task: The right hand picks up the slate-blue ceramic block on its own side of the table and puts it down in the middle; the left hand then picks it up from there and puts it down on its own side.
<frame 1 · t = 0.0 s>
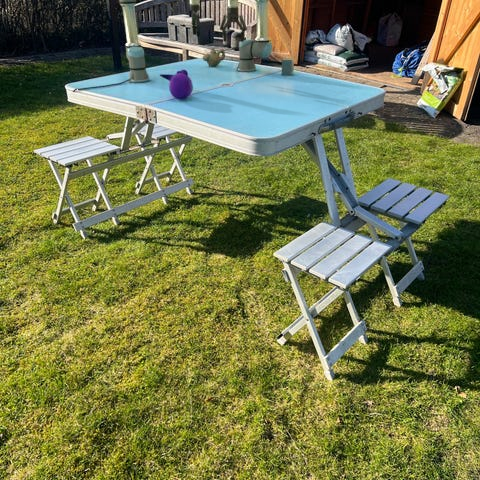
left hand: (196, 35, 349), 28 cm above the table, tool pointing down, fingers open, 13 cm apart
right hand: (233, 41, 313), 28 cm above the table, tool pointing down, fingers open, 13 cm apart
teapot: (214, 66, 390), on the table
toy: (178, 97, 291), on the table
block: (287, 74, 351), on the table
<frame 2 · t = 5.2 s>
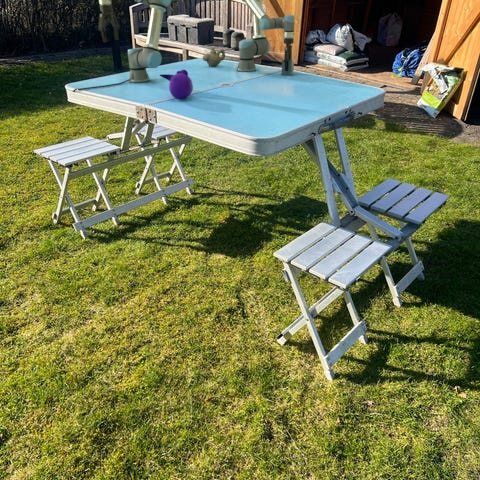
left hand: (111, 41, 294), 32 cm above the table, tool pointing down, fingers open, 13 cm apart
right hand: (287, 70, 349), 3 cm above the table, tool pointing down, fingers closed on block, 6 cm apart
block: (287, 74, 351), on the table, touching right hand
everything else where it was.
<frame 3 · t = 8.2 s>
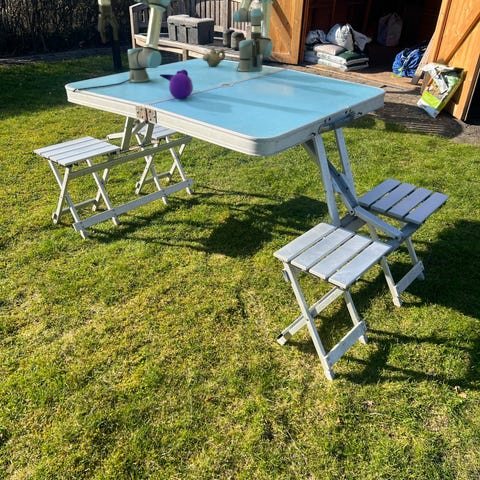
left hand: (110, 41, 294), 32 cm above the table, tool pointing down, fingers open, 13 cm apart
right hand: (256, 66, 336), 9 cm above the table, tool pointing down, fingers closed on block, 6 cm apart
block: (256, 70, 338), point 5 cm above the table, touching right hand
everything else where it was.
when the right hand's fingers open (4 cm above the table, at t = 11.5 s): block stays where it is, on the table.
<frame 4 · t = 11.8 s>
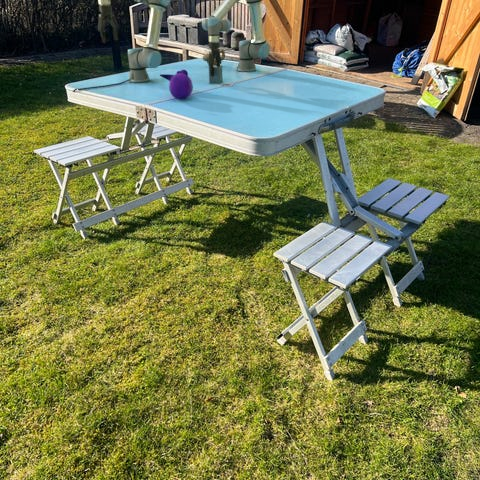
left hand: (110, 41, 294), 32 cm above the table, tool pointing down, fingers open, 13 cm apart
right hand: (215, 74, 326), 6 cm above the table, tool pointing down, fingers open, 11 cm apart
block: (216, 82, 329), on the table
everything else where it was.
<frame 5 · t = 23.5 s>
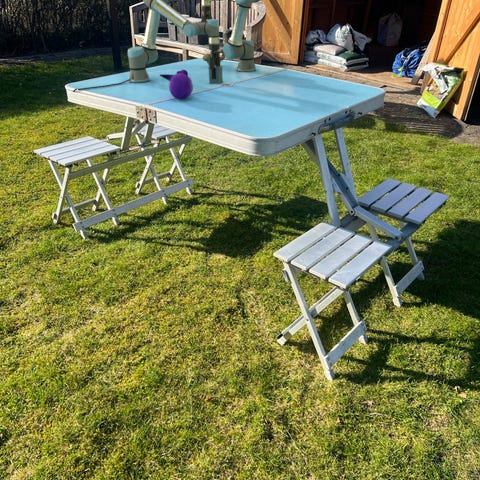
left hand: (215, 77, 327), 3 cm above the table, tool pointing down, fingers closed on block, 6 cm apart
right hand: (207, 34, 371), 26 cm above the table, tool pointing down, fingers open, 13 cm apart
block: (216, 82, 329), on the table, touching left hand
everything else where it was.
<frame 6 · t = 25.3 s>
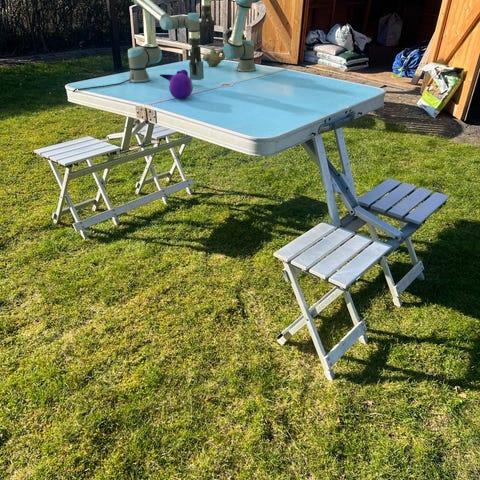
left hand: (196, 73, 317), 8 cm above the table, tool pointing down, fingers closed on block, 6 cm apart
right hand: (207, 34, 371), 26 cm above the table, tool pointing down, fingers open, 13 cm apart
block: (197, 78, 319), point 5 cm above the table, touching left hand
everything else where it was.
when the left hand's fingers open (4 cm above the table, at t = 27.2 s): block stays where it is, on the table.
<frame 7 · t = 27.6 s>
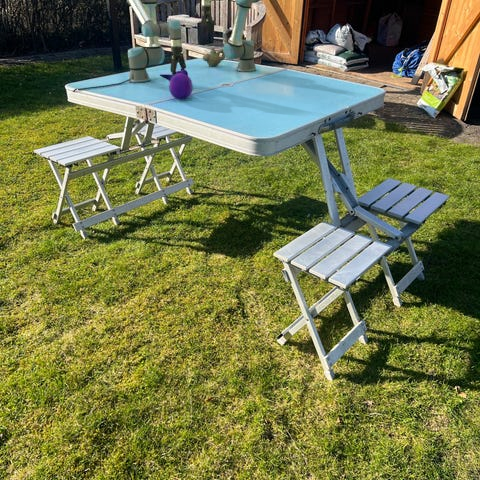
left hand: (179, 80, 310), 6 cm above the table, tool pointing down, fingers open, 11 cm apart
right hand: (207, 34, 371), 26 cm above the table, tool pointing down, fingers open, 13 cm apart
block: (180, 88, 313), on the table
everything else where it was.
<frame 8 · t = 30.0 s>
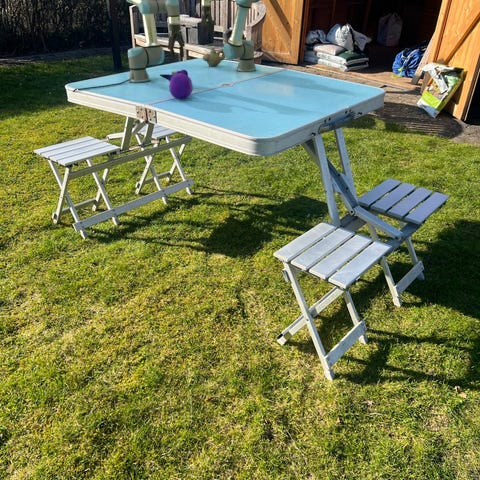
left hand: (177, 58, 303), 20 cm above the table, tool pointing down, fingers open, 13 cm apart
right hand: (207, 34, 371), 26 cm above the table, tool pointing down, fingers open, 13 cm apart
nothing on the table moved.
at the end: block inside the target area (0.1 cm from its centre), on the table; block tilted 0°; the two hands never held the block at the same time; the left hand is holding nothing; the right hand is holding nothing; block at rest at the end (0.0 cm/s) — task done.
